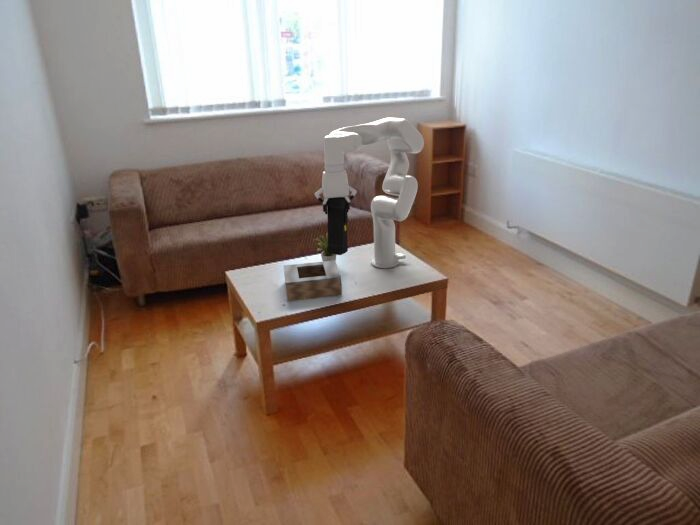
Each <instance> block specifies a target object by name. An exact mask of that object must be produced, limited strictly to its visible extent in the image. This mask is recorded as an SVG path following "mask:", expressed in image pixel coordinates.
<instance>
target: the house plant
mask: <svg viewBox="0 0 700 525" xmlns="http://www.w3.org/2000/svg"><path fill="white" fill-rule="evenodd" d="M319 237H320V238H321V239H322V240H321V239H320V238H319ZM314 240H316V241H318V244H317V245H319V246H320V247H318V248H317V249H316V252H320V251H322V252H321V253H320V256H321V262H324V261H334V260H335V262H336V260H337V255H336V254H331V253H328V252H327V245H328V230H327V232H326V239H325V236H323V235H322V234H320V236H318V237H316V238H315V239H314ZM321 247H322V248H323V249H322V248H321ZM336 263H337V262H336Z"/></svg>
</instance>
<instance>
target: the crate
mask: <svg viewBox="0 0 700 525" xmlns="http://www.w3.org/2000/svg"><path fill="white" fill-rule="evenodd" d="M283 274H284V284H285V291H286V293H285V294H286V300H287V302H292V301H302V300H312V299H321V298H330V297H339V296H343V288H342V287H343V286H342V276H341V273H340V270H339V268H338V265H337V262H335V260H334V261H324V262H323V261H315V262H304V263H298V264H297V263H295V264H286V265H283Z"/></svg>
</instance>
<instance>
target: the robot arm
mask: <svg viewBox="0 0 700 525" xmlns="http://www.w3.org/2000/svg"><path fill="white" fill-rule="evenodd" d="M385 141H386V142H387V147H388V150H389V154H390V162H389V166H388V168H387V171H386V174H385V177H384V179H383V182H382V190H383V192H384V193H385V194H388V195H384V194H382V195H377V196H375V197H374V198H373V199H372V200H371V202H370V212H371V216H372V222H373V254H374V255H373V256H374V257H373V258H372V259H371V260H370V264H371V265H372V267H374V268H378V269H392V268H395V267H396V266H398V265H399V263H400V262H399V260H405V259H406V258H407V257H406V254H402V252H401V253H397V252H396V225H395V222H394V221H397V222H402V221H404V220H406V219H407V218H408V216H409V214H410V212H411V209H412V207H413V204H414V201H415V199H416V196H417V192H418V188H419V187H418V186H419V183H418V180H417V179H416V177H414V176H413V175H409V174H408V172H409V169H410V161H409V159H408V156H407V154H418V153H420V152H422V151H423V148H424V146H425V140H424V137H423V135H422V133H421V132H420V130H418V128H416V127H415V126H414V125H413V123H412V122H410V121H409V120H408V119H406V118H400V117H384V118H381V119H378V120H377V119H376V120H375V121H371V122H367V123H362V124H357V125H351V126H346V127H342V128H337V129H335V130H332V131H331V132H330V133H329V134H328V135H325V136H324V137H323V156H324V162H323V163H324V171H323V172H322V176H321V177H322V178H321V188H319V189H318V190H317V191H316V192H314V196H315V198H316V199H317V200H318V201H319V202H320V203H322V212H323V213H324V214H325V215H328V212H327V204H326V202H327V200H328V198H340V197H342V198H345V199H346V200H347V203H346V208H347V214H349V211H350V209H351V206H350V205H351V204H350V203H351V201H352V200H353V199H354V197H355V196H356V194H357V192H358V191H357V190H356V189H354V188H353V187H352V186H351V185H349V179H348V173H347V169H348V168H349V164H348V163H347V164H346V163H345V154H347V153H348V154H351V153H356V152H358V151H359V150H361V148H362V146H369V145H374V144H378V143H381V142H385ZM350 192H351V193H350ZM321 194H322V196H323V198H322V197H321V196H320V195H321ZM389 195H391V196H389ZM394 196H397V197H394Z"/></svg>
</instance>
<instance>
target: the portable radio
mask: <svg viewBox="0 0 700 525" xmlns="http://www.w3.org/2000/svg"><path fill="white" fill-rule="evenodd" d="M346 203H347V200H346V199H345V197H340V198H328V200H327V202H326V204H327V231H328V232H327V233H328V245H327V252H328V253H331V254H336V256H342V255H344V254H346V253H347V252H348V251H349V248H348V246H349V245H348V222H349V219H348V218H349V217H348V214H349V213H347V208H346Z"/></svg>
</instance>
